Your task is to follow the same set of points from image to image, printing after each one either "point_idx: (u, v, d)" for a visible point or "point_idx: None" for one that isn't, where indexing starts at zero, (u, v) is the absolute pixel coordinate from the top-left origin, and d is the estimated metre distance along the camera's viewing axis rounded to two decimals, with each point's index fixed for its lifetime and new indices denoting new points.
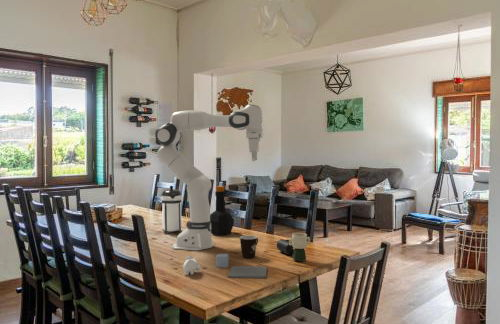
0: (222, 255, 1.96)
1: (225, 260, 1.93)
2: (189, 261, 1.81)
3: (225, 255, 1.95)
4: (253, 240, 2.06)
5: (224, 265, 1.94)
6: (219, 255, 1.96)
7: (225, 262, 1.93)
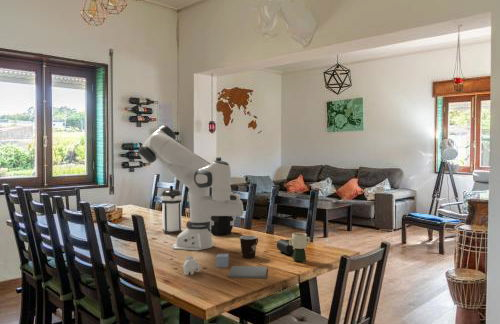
0: (222, 255, 1.96)
1: (225, 260, 1.93)
2: (189, 261, 1.81)
3: (225, 255, 1.95)
4: (253, 240, 2.06)
5: (224, 265, 1.94)
6: (219, 255, 1.96)
7: (225, 262, 1.93)
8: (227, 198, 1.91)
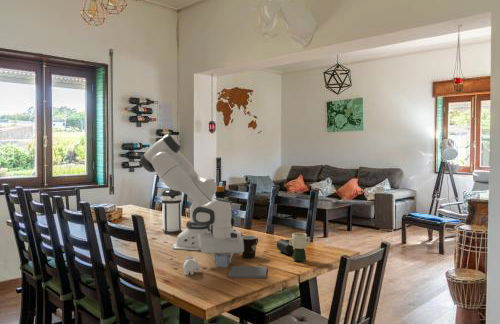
0: (222, 255, 1.96)
1: (225, 260, 1.93)
2: (189, 261, 1.81)
3: (225, 255, 1.95)
4: (253, 240, 2.06)
5: (224, 265, 1.94)
6: (219, 255, 1.96)
7: (225, 262, 1.93)
8: (228, 236, 1.91)
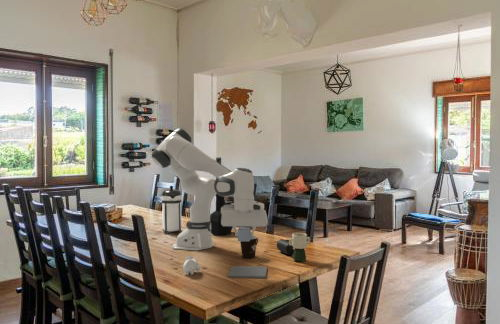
0: (244, 228, 1.83)
1: (247, 233, 1.81)
2: (189, 261, 1.81)
3: (247, 228, 1.83)
4: (253, 240, 2.06)
5: (246, 239, 1.81)
6: (241, 228, 1.83)
7: (247, 236, 1.81)
8: (250, 208, 1.79)
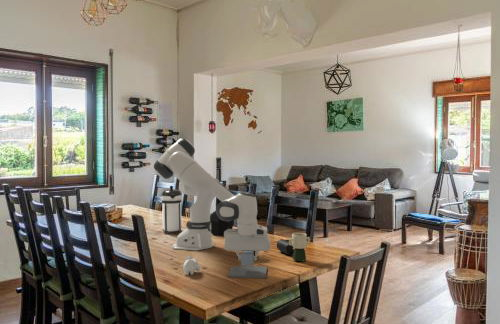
0: (247, 252, 1.84)
1: (250, 258, 1.82)
2: (189, 261, 1.81)
3: (250, 252, 1.84)
4: None
5: (249, 263, 1.82)
6: (244, 252, 1.84)
7: (250, 260, 1.82)
8: (254, 232, 1.80)
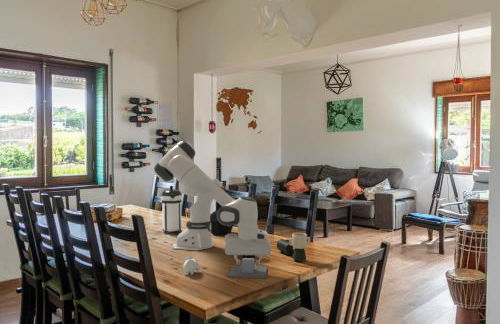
0: (247, 260, 1.84)
1: (251, 265, 1.82)
2: (189, 261, 1.81)
3: (251, 260, 1.84)
4: None
5: (250, 270, 1.82)
6: (244, 260, 1.84)
7: (251, 267, 1.82)
8: (254, 237, 1.80)
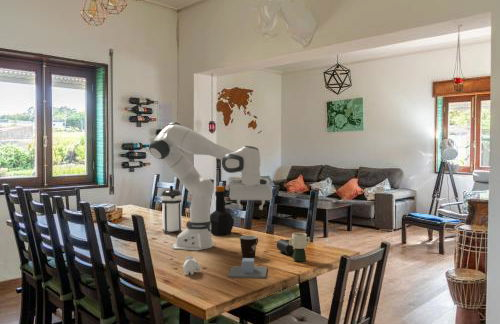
0: (247, 260, 1.84)
1: (251, 265, 1.82)
2: (189, 261, 1.81)
3: (251, 260, 1.84)
4: (253, 240, 2.06)
5: (250, 270, 1.82)
6: (244, 260, 1.84)
7: (251, 267, 1.82)
8: (257, 182, 1.93)
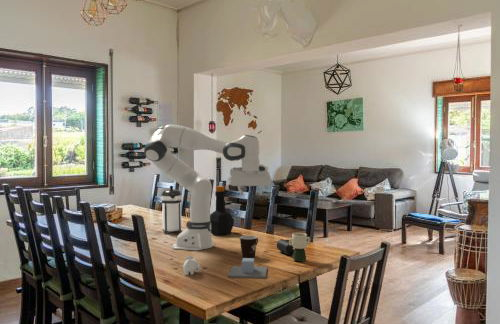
0: (247, 260, 1.84)
1: (251, 265, 1.82)
2: (189, 261, 1.81)
3: (251, 260, 1.84)
4: (253, 240, 2.06)
5: (250, 270, 1.82)
6: (244, 260, 1.84)
7: (251, 267, 1.82)
8: (256, 169, 2.06)
